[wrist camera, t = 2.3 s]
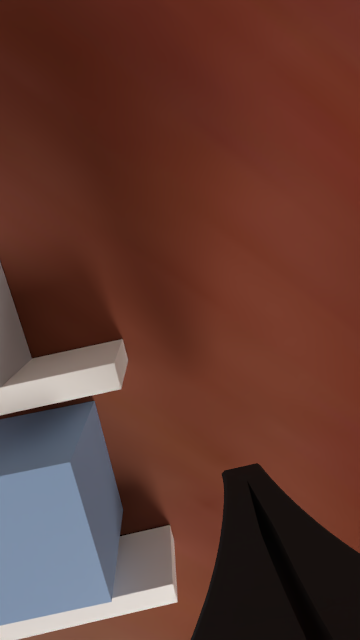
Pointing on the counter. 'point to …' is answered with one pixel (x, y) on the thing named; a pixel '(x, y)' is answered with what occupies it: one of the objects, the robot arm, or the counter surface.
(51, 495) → the block
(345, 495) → the counter surface
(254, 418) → the counter surface
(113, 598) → the trap box
